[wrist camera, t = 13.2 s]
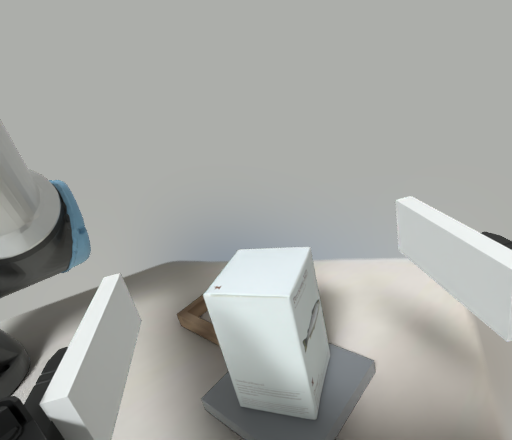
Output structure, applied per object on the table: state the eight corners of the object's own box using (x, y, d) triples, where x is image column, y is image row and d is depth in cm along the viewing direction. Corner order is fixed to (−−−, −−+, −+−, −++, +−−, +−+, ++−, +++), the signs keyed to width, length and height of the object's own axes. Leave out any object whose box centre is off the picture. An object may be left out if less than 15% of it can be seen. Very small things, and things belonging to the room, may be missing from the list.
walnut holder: (181, 325, 47) (176, 314, 46) (242, 277, 55) (239, 266, 54) (245, 359, 38) (241, 346, 38) (307, 296, 46) (304, 284, 46)
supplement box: (318, 423, 28) (289, 297, 23) (238, 408, 31) (198, 294, 26) (333, 355, 34) (312, 244, 29) (265, 347, 37) (236, 246, 33)
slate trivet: (205, 409, 34) (201, 398, 33) (279, 332, 41) (276, 322, 41) (306, 485, 25) (303, 473, 25) (375, 372, 33) (373, 360, 32)
